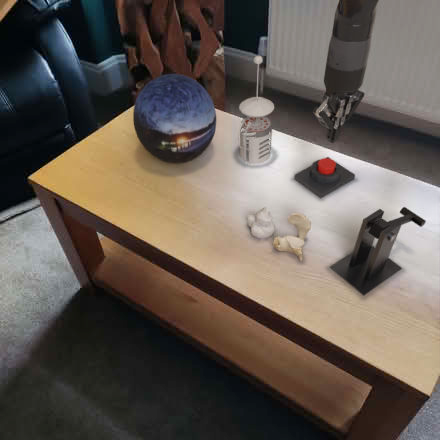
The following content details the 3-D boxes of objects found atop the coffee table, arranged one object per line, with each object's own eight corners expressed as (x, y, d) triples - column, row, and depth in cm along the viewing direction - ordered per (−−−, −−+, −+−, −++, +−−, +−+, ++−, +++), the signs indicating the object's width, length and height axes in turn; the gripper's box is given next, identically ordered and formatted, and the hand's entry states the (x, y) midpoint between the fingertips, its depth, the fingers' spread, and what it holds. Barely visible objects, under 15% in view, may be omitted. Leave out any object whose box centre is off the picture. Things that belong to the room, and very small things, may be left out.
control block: (326, 164, 108) (329, 150, 105) (353, 182, 103) (356, 168, 100) (293, 181, 104) (295, 168, 101) (320, 201, 100) (322, 187, 96)
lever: (401, 214, 86) (407, 204, 84) (422, 228, 83) (428, 217, 81) (361, 228, 78) (367, 217, 77) (383, 243, 76) (389, 232, 74)
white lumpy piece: (266, 246, 92) (268, 219, 85) (240, 234, 94) (240, 206, 88) (279, 231, 94) (282, 203, 88) (254, 220, 97) (255, 192, 90)
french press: (281, 153, 111) (290, 52, 91) (257, 177, 106) (262, 75, 86) (248, 141, 115) (250, 41, 95) (224, 164, 109) (221, 63, 89)
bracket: (366, 246, 91) (383, 195, 80) (400, 272, 86) (424, 221, 75) (328, 271, 87) (341, 221, 76) (362, 299, 83) (381, 250, 72)
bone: (284, 269, 86) (278, 220, 82) (269, 261, 91) (263, 216, 88) (321, 258, 88) (316, 210, 84) (304, 251, 94) (299, 206, 90)
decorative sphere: (233, 152, 112) (232, 75, 96) (177, 190, 104) (166, 113, 88) (181, 125, 121) (172, 50, 105) (126, 158, 112) (107, 81, 96)
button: (325, 162, 103) (327, 155, 101) (338, 170, 101) (339, 164, 99) (313, 168, 101) (314, 162, 100) (325, 177, 99) (327, 170, 98)
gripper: (336, 78, 77) (322, 160, 91) (386, 55, 81) (365, 136, 95) (307, 63, 81) (298, 144, 95) (356, 42, 85) (341, 122, 99)
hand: (332, 140), depth 95 cm, fingers closed
